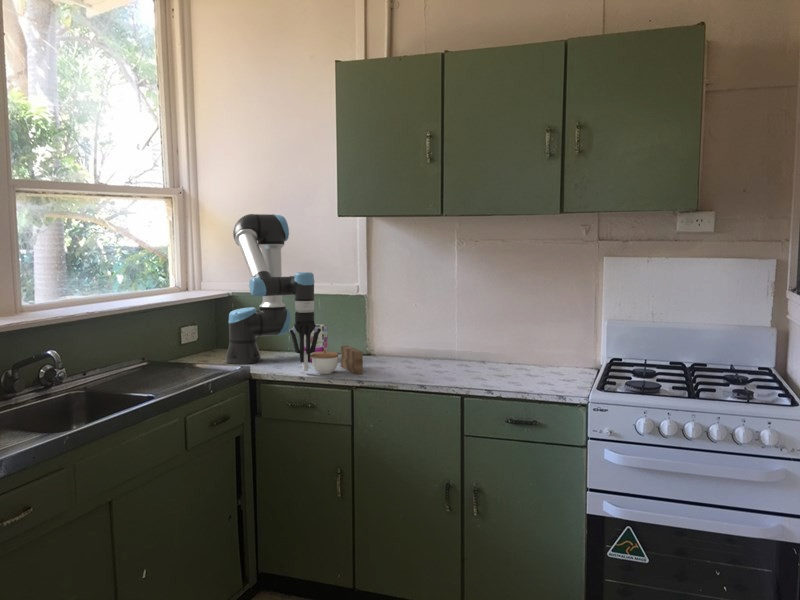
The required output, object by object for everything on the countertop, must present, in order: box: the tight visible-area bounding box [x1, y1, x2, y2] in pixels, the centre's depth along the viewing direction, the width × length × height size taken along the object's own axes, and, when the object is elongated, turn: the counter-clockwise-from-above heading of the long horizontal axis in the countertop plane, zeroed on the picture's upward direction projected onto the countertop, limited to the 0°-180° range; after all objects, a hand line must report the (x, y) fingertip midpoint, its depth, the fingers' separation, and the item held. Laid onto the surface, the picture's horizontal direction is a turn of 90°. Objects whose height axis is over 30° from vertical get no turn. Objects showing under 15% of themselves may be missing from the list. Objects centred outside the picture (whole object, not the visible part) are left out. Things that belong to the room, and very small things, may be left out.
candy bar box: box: [304, 323, 329, 363], centre depth 287 cm, size 11×5×16 cm, turn 73°
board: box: [340, 344, 364, 375], centre depth 266 cm, size 18×3×9 cm, turn 24°
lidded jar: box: [311, 349, 339, 375], centre depth 262 cm, size 11×11×9 cm
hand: (305, 370), depth 258 cm, fingers closed
